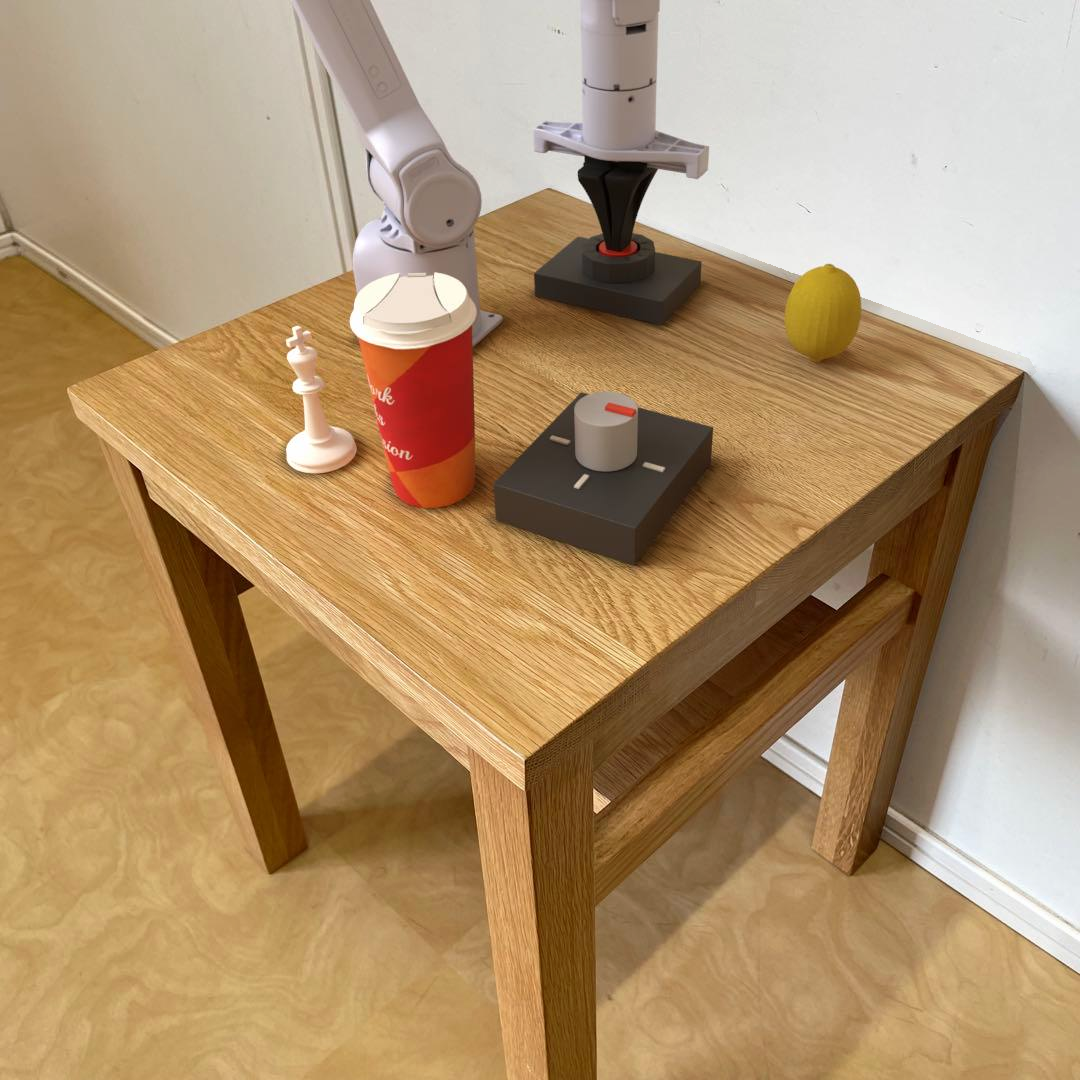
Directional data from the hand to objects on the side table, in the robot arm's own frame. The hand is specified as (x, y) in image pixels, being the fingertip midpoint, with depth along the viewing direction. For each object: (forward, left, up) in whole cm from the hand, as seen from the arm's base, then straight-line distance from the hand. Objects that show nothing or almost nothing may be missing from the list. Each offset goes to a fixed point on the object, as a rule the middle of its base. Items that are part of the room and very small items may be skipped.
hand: (618, 246), depth 93 cm
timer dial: (+12, -26, -1) cm, 29 cm away
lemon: (+19, -4, -4) cm, 20 cm away
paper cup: (+1, -31, -4) cm, 31 cm away
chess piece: (-8, -31, -4) cm, 32 cm away
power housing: (0, 0, -4) cm, 4 cm away
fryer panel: (+12, -26, -4) cm, 29 cm away
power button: (0, 0, -2) cm, 2 cm away
